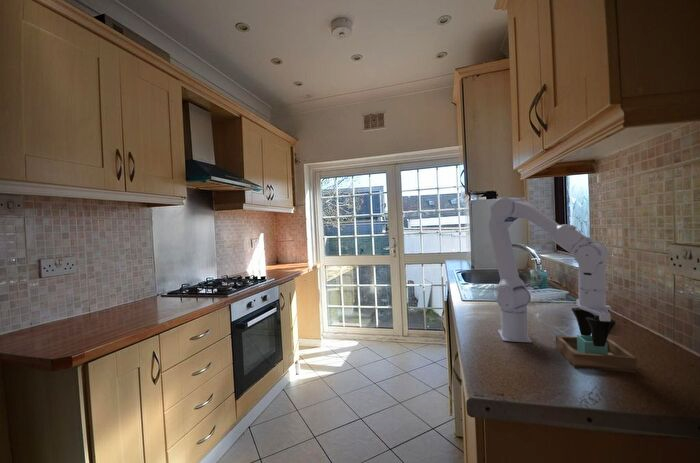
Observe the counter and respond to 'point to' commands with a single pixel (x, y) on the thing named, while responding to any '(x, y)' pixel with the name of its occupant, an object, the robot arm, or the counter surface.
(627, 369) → the big crate
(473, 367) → the counter surface
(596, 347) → the small crate
